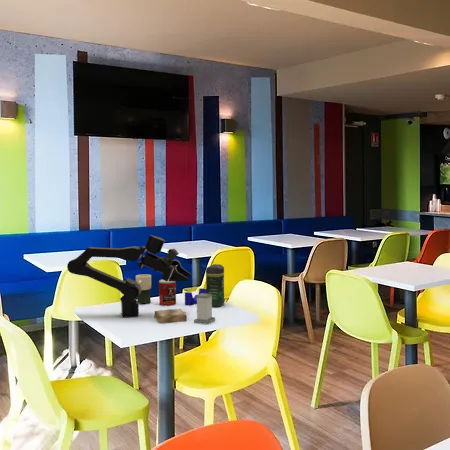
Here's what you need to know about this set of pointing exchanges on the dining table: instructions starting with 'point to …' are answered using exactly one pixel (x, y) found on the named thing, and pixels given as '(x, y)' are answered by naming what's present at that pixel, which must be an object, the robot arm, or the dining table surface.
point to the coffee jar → (215, 284)
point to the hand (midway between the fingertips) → (189, 277)
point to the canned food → (167, 292)
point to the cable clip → (189, 298)
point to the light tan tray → (170, 316)
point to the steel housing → (204, 309)
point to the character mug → (144, 288)
